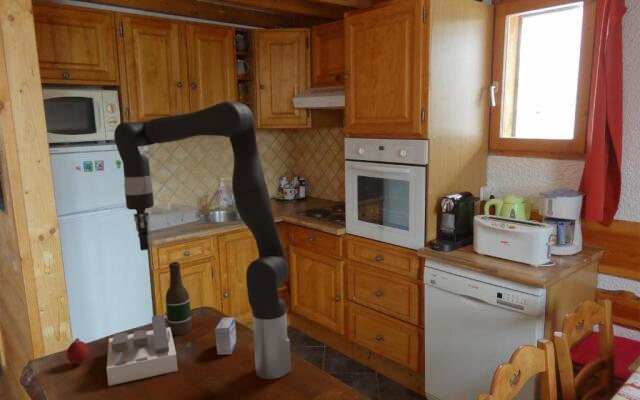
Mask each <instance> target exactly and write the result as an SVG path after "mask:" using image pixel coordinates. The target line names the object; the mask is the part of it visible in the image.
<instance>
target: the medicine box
mask: <svg viewBox="0 0 640 400" xmlns="http://www.w3.org/2000/svg"><path fill="white" fill-rule="evenodd" d="M214 330H215V331H214V332H215V341H216V352H217V355H219V356H223V355H232V353H233V351H234V349H235V347H236V344H237V332H236V319H235V317H221V319H219V322H218V323H217V326H216V327H215V329H214Z"/></svg>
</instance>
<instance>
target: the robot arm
mask: <svg viewBox="0 0 640 400" xmlns="http://www.w3.org/2000/svg"><path fill="white" fill-rule="evenodd" d="M254 119H255V118H254V115H253V113H252V111H251V109H250V108H249V107H248V106H247V105H246V104H244V103H242V102H234V101H228V100H227V101H223V102H220V103H219V102H218V103H217V104H214V105H212V106H209V107H206V108H204V109H203V108H202V109H201V110H198V111H193V112H189V113H182V114H174V115H168V116H167V115H166V116H160V117H155V118H152V119H149V120H146V121H135V122H134V121H129V122H128V121H126V122H125V121H124V122H121V123H118V125H117V126H116V127H115V129H114V136H113V137H114V143H115V146H116V149H117V152H118V154H119V157H120V159H121V163H122V167H123V178H124V179H123V180H124V181H123V182H124V183H123V186H124V196H125V207H126V209H127V210H135V211H136V213H134V214H133V218H134V222H135V227H136V228H135V231H137V233H138V234H137V237H138V239H139V246H140V248H139V249H140V251H147V250H149V240H148V236H149V233H148V230H149V229H150V227H149V220H150V219H149V217H150V215H149V212H146V209H151V208H153V207H154V206H155V204H154V192H153V183H152V177H151V170H150V160H149V158H148V157H147V156H146V155H142V154H141V153H140V150H139V147H145V146H151V145H155V144H164V143H165V144H166V143H171V142H177V141H182V140H186V139H189V138H192V137H198V136H217V137H224V138H228V139H229V141H230V145H231V149H232V152H233V153H232V154H233V170H232V179H231V181H232V184H231V188H232V195H233V199H234V202H235V206H236V210H237V213H238V216H239V217H240V218H241V220H242V221H243V223H244V224H245V226H246V228H248V229H249V232H250V233H251V234H252V236H253V238H254V241H255V244H256V248H257V251H258V258H256V259H254V260H253V261H251V262H249V263H250V264H248V266H247V269H246V275H245V276H246V289H247V298H248V299H247V300H248V304H249V306H250V308H251V313H252V328H253V345H254V347H253V348H254V363H255V364H254V365H255V374H256V375H257V377H259V378H260V379H264V380H276V379H280V378H282V377H284V376H285V375H287V374H289V373H292V361H291V341H290V339H289V337H288V325H287V323H288V322H287V305H286V302H285V300H284V299H282V298H279V291H278V290H279V289H278V287H279V286H281V284H283V283H285V281H286V280H287V278H288V277H289V273H290V272H289V271H290V269H289V264H288V259H287V256H286V254H285V251H284V248H283V245H282V242H281V239H280V236H279V234H278V229H277V224H276V221H275V217H274V213H273V209H272V204H271V198H270V195H269V190H268V187H267V186H268V185H267V182H266V179H265V174H264V170H263V165H262V162H261V158H260V153H259V148H258V141H257V133H256V126H255V120H254Z"/></svg>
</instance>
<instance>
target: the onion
mask: <svg viewBox="0 0 640 400" xmlns="http://www.w3.org/2000/svg"><path fill="white" fill-rule="evenodd" d="M89 354H90V348H89V346H88V344H87V343H86V342H84V341H81V340H80V338H78V337H76V338H75V339H74V340H73V342H72V343H71V344H70V345H69V346H68V348H67V350H66V356H67V360H68V361H70V362H71V363H73V364H76V365H81V364H82V363H83V362H84V361H85V360H86V359H88V356H89Z"/></svg>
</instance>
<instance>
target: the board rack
mask: <svg viewBox="0 0 640 400" xmlns="http://www.w3.org/2000/svg"><path fill="white" fill-rule="evenodd" d="M146 332H147V343H146V344H140V345H135V346H134V343H133V336H134V333H131V334H130V333H129V334H127V336H128V339H127V347H126V348H123V349H117V350H112V341H113V338H114V336H113V337H109V338H108V348H107V357H106V359H107V361H106V374H107V375H106V376H107V385H108V387H109V386H114V385H118V384H122V383H127V382H132V381H137V380H141V379H146V378H150V377H156V376H159V375H163V374H169V373H173V372H178V369H179V368H178V360H177V353H176V348H175V344H174V343H175V342H174V338H173V335H172V333H171V329H170V327H168V326H166V332H167V339H168V345H169V351H168V352H164V353H159V354H156V351H155V342H154V334H153V329H151V330H146Z"/></svg>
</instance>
